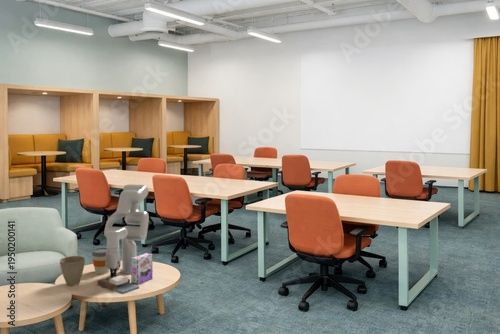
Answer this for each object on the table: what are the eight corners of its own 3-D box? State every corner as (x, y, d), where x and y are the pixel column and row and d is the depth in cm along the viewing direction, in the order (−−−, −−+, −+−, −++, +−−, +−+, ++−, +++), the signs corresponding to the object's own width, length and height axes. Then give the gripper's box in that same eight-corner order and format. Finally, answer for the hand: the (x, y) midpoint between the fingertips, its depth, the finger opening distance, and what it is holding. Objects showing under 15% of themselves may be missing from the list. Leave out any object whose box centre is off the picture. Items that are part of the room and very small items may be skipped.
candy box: (137, 284, 288) (137, 259, 286) (130, 282, 291) (130, 257, 289) (152, 278, 300) (152, 254, 298) (146, 276, 303) (146, 252, 301)
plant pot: (66, 279, 295) (66, 255, 293) (89, 280, 294) (88, 256, 293) (55, 287, 280) (55, 262, 279) (79, 288, 279) (78, 263, 278)
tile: (120, 279, 289) (120, 275, 288) (128, 281, 284) (128, 277, 283) (109, 282, 282) (109, 278, 282) (117, 285, 277) (117, 281, 277)
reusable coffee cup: (108, 274, 305) (107, 253, 304) (89, 274, 305) (89, 252, 304) (114, 268, 318) (113, 247, 316) (96, 268, 318) (95, 247, 317)
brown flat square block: (115, 279, 297) (115, 274, 296) (129, 284, 288) (129, 279, 288) (97, 285, 285) (97, 280, 285) (111, 290, 277) (111, 285, 277)
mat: (128, 284, 288) (128, 282, 288) (139, 288, 282) (139, 286, 282) (112, 289, 278) (112, 288, 278) (123, 293, 272) (123, 292, 272)
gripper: (100, 248, 286) (101, 277, 288) (115, 252, 277) (115, 282, 279) (110, 246, 292) (111, 274, 294) (125, 250, 283) (125, 279, 285)
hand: (113, 278), depth 286 cm, fingers closed
